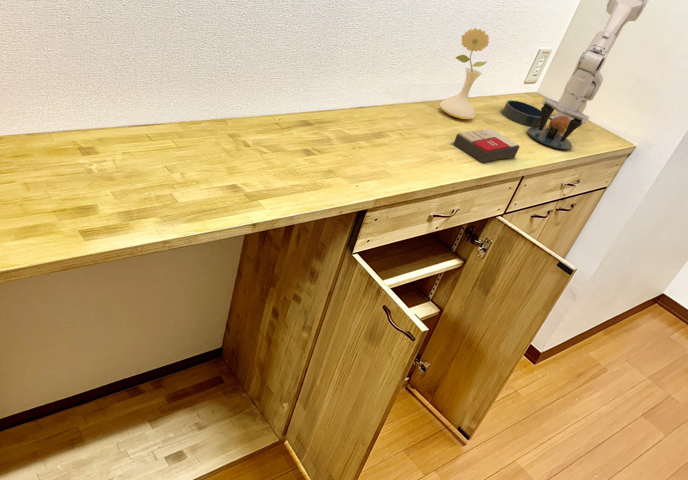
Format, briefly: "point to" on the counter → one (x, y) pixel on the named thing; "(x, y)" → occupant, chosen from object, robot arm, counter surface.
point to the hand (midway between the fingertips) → (551, 135)
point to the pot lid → (549, 137)
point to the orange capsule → (559, 123)
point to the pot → (522, 113)
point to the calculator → (486, 145)
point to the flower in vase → (460, 102)
